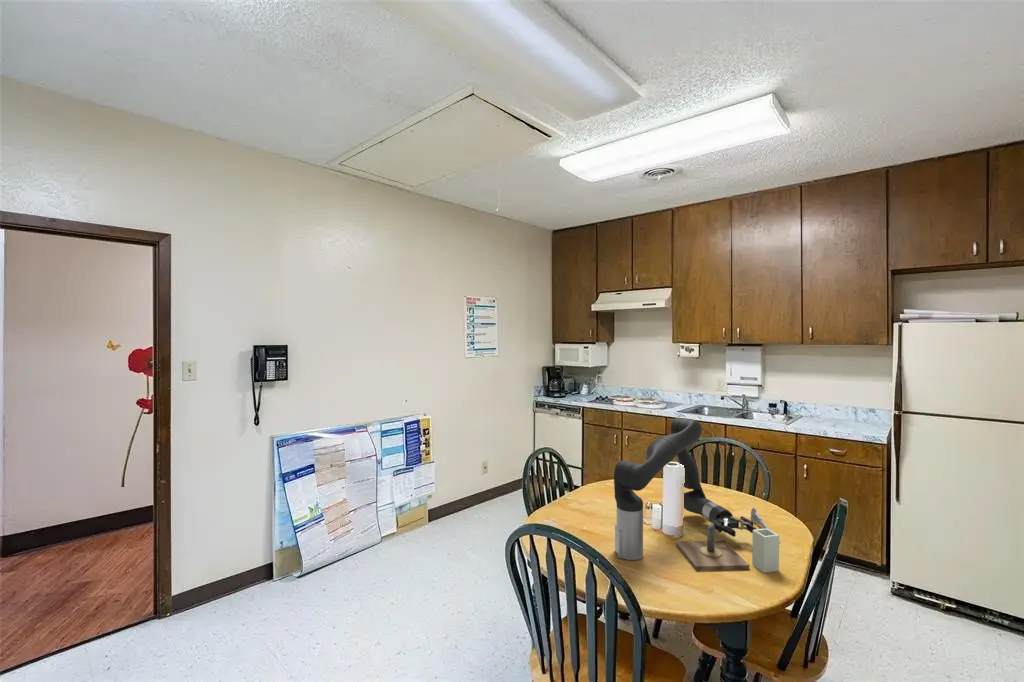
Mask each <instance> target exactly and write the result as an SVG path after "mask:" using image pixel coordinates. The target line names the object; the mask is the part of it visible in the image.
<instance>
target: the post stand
mask: <svg viewBox="0 0 1024 682" xmlns="http://www.w3.org/2000/svg"><path fill="white" fill-rule="evenodd" d="M706 530H707V531H706V533H707V534H706V535H707V536H706V537H707V539H706V540H684V541H681V540H680V541H677V540H676V541H675V546H676V547H677V548H678V549H679V551H680V552H681V554H682V555H683V556H684V557H685V559H686V560H687V561H688V563H689V564H690V566H692V567H693V569H694V570H695V571H696V572H697V571H698V572H700V571H701V572H702V571H737V570H738V571H744V570H747V571H748V570H750V564H749V563H748V562H747V561H746V560H745V559H744V558H743V557H742V556H741V555H740V554H739V553H737V551H736V550H735V549H733V548H732V547H731V545H730V544H728V543H727V542H726V541H725V540H724V539H723V540H716V539H715V536H716V535H715V534H716V533H715V531H716V530H715V528H714V527H713V526H712V525H711V524H710V525H708V526H707V528H706Z"/></svg>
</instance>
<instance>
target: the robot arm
mask: <svg viewBox="0 0 1024 682" xmlns="http://www.w3.org/2000/svg"><path fill="white" fill-rule="evenodd" d="M702 431H703V427H702V424H701V423H700V421H699V420H695V419H691V418H684V417H676V418H674V419H672V421H671V423H670V434H666V435H663V436H660V437H658V438H657V439H655V440H654V441H653V442H651V443H650V444H649V445H648V447H647V449H646V461H644V462H642V463H636V462H633V461H627V460H619V461H618V462H617V463H616V465H615V467H614V471H613V486H614V487H613V488H614V499H615V502H616V524H615V525H614V552H615V553H616V555H617V557H618V559H623V560H626V561H638V560H640V559H643V557H644V501H643V499H642V498H641V497H640V496H639V495H638V494H637V493H635V492H636V491H638V492H639V491H642V490H644V489H645V488H646V487H647V486H648V485H649V484H650V483H651V481H652V480H653V478H655V476H656V475H657V474H658V473H659V472H660V471H661V470H663V468H664V467H665V466H667V465H668V464H669V463H670V462H672V461H673V460H674V459H675V458H676V457H677V459H678V463H679V465H680V464H682V465H684V468H685V483H684V486H683V488H685V489H688V490H689V491H686V492H683V493H684V508H683V509H684V510H686V511H687V512H690V513H694V514H697V515H700V516H701V517H703V518H705V519H706V520H707V521H708V522H709V523H710V525H712V526H713V527H714V528H715V531H716V532H718V533H725V534H728V535H729V536H731V537H733V538H734V537H736V536H737V535H736V534H737V533H736V530H741V531H743V530H746V531H748V532H749V533H751V534H753V530H756V529H757V527H755V526H754V523H753V521H751V519H748V518H746V517H744V516H742V515H741V516H740V518H737V517H736V516H734V515H733V514H732V512H731V510H728V509H726V508H725V507H723V506H722V505H720V504H718V503H716V502H714V501H712V500H711V499H708V498H707V497H706V494H705V493H704V490H703V487H702V485H701V482H700V475H699V474H700V473H699V468H698V465H697V463H696V462H695V459H694V458H693V456H692V455H691V454H690V452H689V451H688V449H687V448H689V447H690V446H691V445H693V444H695V443H696V442H697V441H698V440H699V439H700V438H701V436H702ZM634 491H635V492H634ZM739 525H740V526H739ZM735 529H736V530H735Z"/></svg>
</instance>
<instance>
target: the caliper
mask: <svg viewBox="0 0 1024 682" xmlns="http://www.w3.org/2000/svg"><path fill="white" fill-rule="evenodd" d="M750 521H752V522H753V524H758V525H760V526H761V528H762V529H765V528H767V529H769V530H771V528H769V526H768V525H767V524H766V522H764V521H763V518H762V517H761V516H760V514H759V513H758V512H757V509H756V507H752V509H751V510H750ZM779 544H781V542H780V541H779Z"/></svg>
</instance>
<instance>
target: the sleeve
mask: <svg viewBox="0 0 1024 682" xmlns="http://www.w3.org/2000/svg"><path fill="white" fill-rule="evenodd" d="M769 529H770V528H769ZM769 529H767V528H765V529H764V528H756V530H753V533H752V545H751V546H752V548H751V549H752V551H751V553H752V556H751V557H752V562H751V563H752V564H751V565H752V566H754V567H756V568H757V569H758V570H760V571H761V572H762V573H771V572H772V573H773V572H779V571H780V543H779V542H780V534H778V533H776V532H775V531H772V530H771V529H770V530H769Z"/></svg>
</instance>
